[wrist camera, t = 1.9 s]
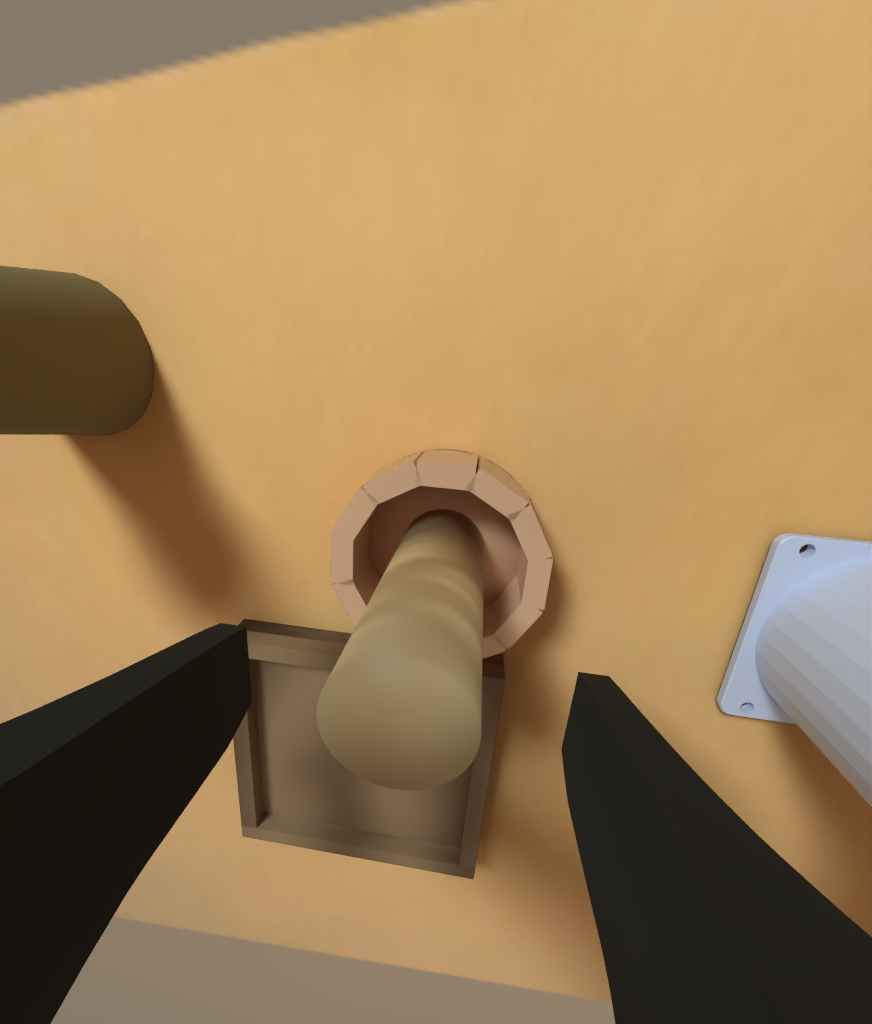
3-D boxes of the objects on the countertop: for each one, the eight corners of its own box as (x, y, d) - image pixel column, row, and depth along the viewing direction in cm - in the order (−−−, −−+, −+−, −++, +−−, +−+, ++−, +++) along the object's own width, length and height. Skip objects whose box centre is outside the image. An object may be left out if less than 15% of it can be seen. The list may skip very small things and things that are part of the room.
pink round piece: (554, 459, 16) (568, 475, 13) (525, 633, 18) (532, 678, 15) (356, 440, 16) (330, 452, 14) (353, 610, 19) (331, 649, 16)
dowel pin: (488, 513, 16) (490, 669, 7) (479, 588, 17) (472, 802, 8) (406, 504, 16) (314, 645, 8) (401, 578, 17) (317, 776, 9)
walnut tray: (502, 654, 18) (504, 679, 17) (474, 844, 22) (473, 879, 21) (244, 618, 19) (223, 639, 18) (258, 806, 23) (242, 836, 22)
